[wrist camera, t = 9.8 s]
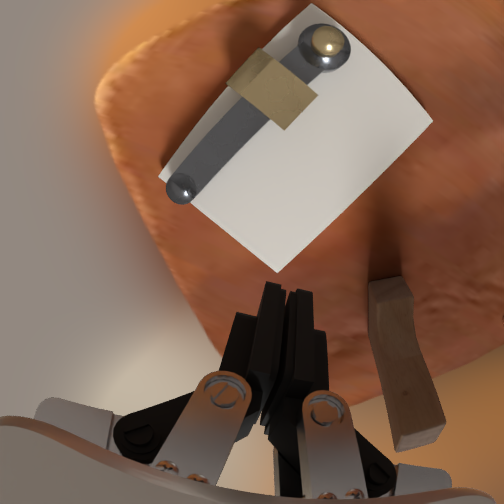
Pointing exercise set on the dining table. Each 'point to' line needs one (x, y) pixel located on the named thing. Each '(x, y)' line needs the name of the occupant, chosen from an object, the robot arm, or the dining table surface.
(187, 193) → the link
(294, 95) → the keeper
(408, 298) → the wooden block
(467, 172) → the dining table surface
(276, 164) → the base plate
